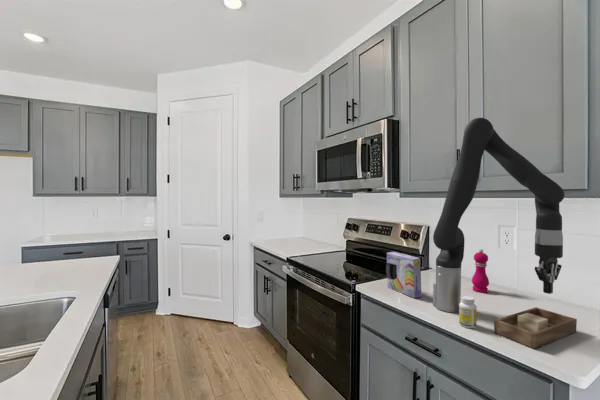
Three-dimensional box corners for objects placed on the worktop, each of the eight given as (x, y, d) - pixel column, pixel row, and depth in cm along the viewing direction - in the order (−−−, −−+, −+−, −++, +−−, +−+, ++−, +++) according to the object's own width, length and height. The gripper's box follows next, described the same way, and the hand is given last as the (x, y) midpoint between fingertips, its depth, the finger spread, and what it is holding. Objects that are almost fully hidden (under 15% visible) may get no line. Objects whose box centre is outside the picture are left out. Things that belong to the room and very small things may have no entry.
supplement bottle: (470, 322, 112) (471, 295, 112) (479, 328, 107) (480, 300, 106) (455, 322, 112) (456, 295, 112) (464, 328, 106) (464, 300, 106)
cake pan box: (384, 286, 154) (385, 251, 153) (392, 285, 156) (393, 250, 155) (413, 299, 136) (414, 259, 135) (422, 297, 138) (422, 258, 137)
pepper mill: (487, 289, 150) (488, 248, 150) (489, 294, 143) (490, 251, 143) (470, 287, 153) (471, 247, 153) (472, 292, 146) (473, 249, 146)
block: (517, 326, 104) (517, 315, 104) (527, 322, 107) (527, 312, 107) (537, 333, 99) (538, 322, 99) (547, 329, 102) (547, 318, 102)
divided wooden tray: (494, 333, 103) (494, 319, 103) (535, 319, 115) (536, 307, 115) (534, 349, 93) (535, 334, 92) (576, 332, 105) (576, 319, 104)
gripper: (546, 239, 113) (545, 287, 113) (525, 242, 107) (525, 292, 107) (571, 242, 106) (570, 293, 106) (551, 245, 100) (550, 299, 100)
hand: (547, 292), depth 107 cm, fingers closed
